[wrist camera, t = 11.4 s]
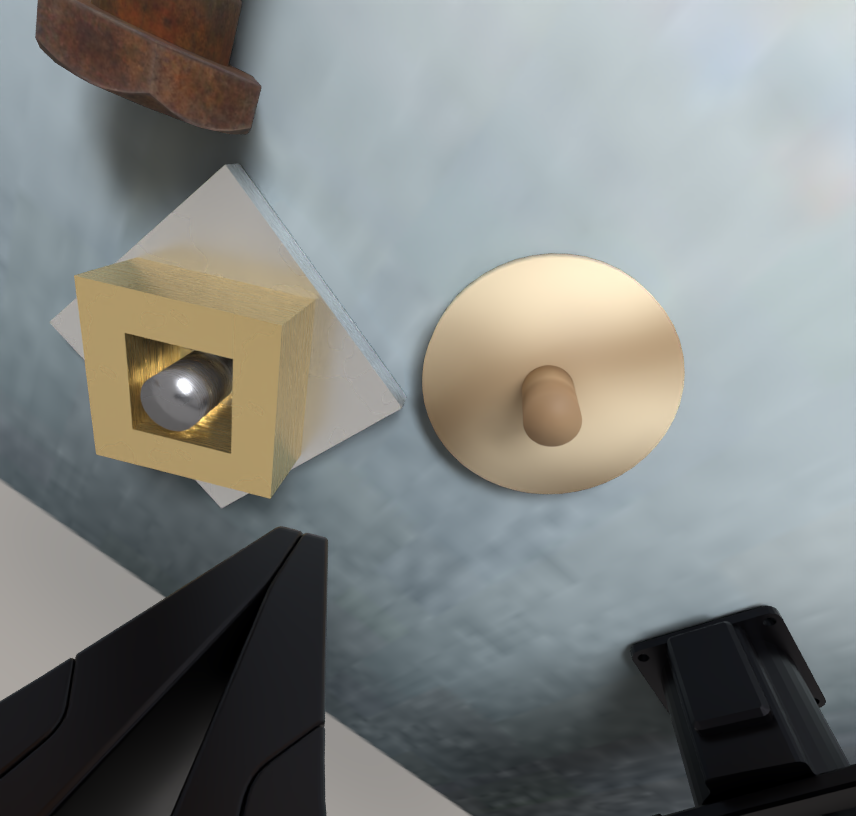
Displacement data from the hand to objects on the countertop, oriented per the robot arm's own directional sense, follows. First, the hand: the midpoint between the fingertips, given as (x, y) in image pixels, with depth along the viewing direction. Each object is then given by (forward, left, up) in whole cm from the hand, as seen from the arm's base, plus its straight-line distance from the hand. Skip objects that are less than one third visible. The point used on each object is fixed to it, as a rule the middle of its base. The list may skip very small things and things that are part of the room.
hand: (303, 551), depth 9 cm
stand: (-4, -3, -12) cm, 13 cm away
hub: (+3, +7, -12) cm, 14 cm away
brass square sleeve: (+3, +7, -11) cm, 13 cm away
